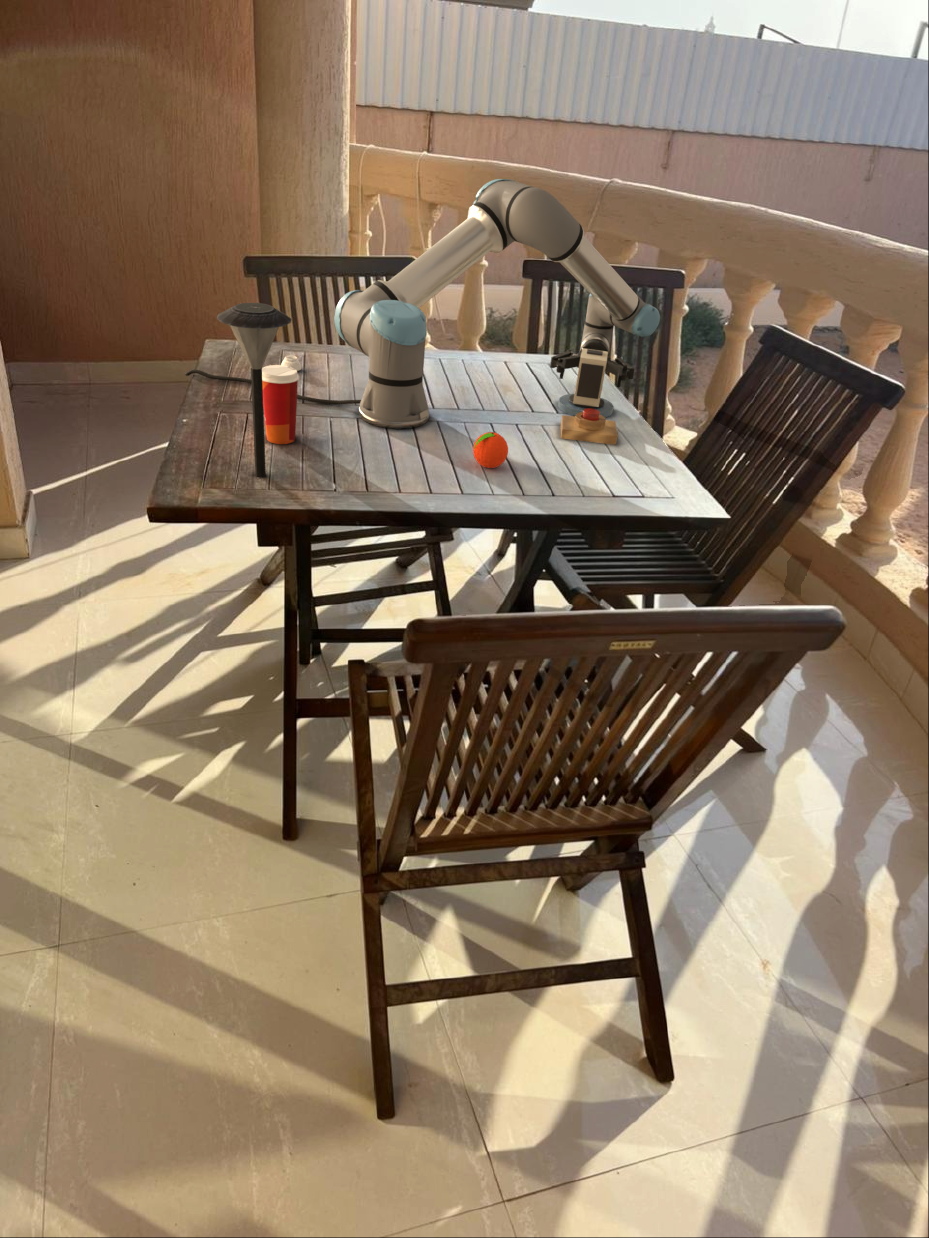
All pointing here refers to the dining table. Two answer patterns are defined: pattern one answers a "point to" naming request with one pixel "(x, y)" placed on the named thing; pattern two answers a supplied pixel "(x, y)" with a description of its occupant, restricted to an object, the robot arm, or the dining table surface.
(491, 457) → the clementine
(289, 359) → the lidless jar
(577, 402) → the panel
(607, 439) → the button block
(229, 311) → the solar garden light
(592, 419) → the button
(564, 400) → the swivel base
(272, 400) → the paper cup
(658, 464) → the dining table surface
